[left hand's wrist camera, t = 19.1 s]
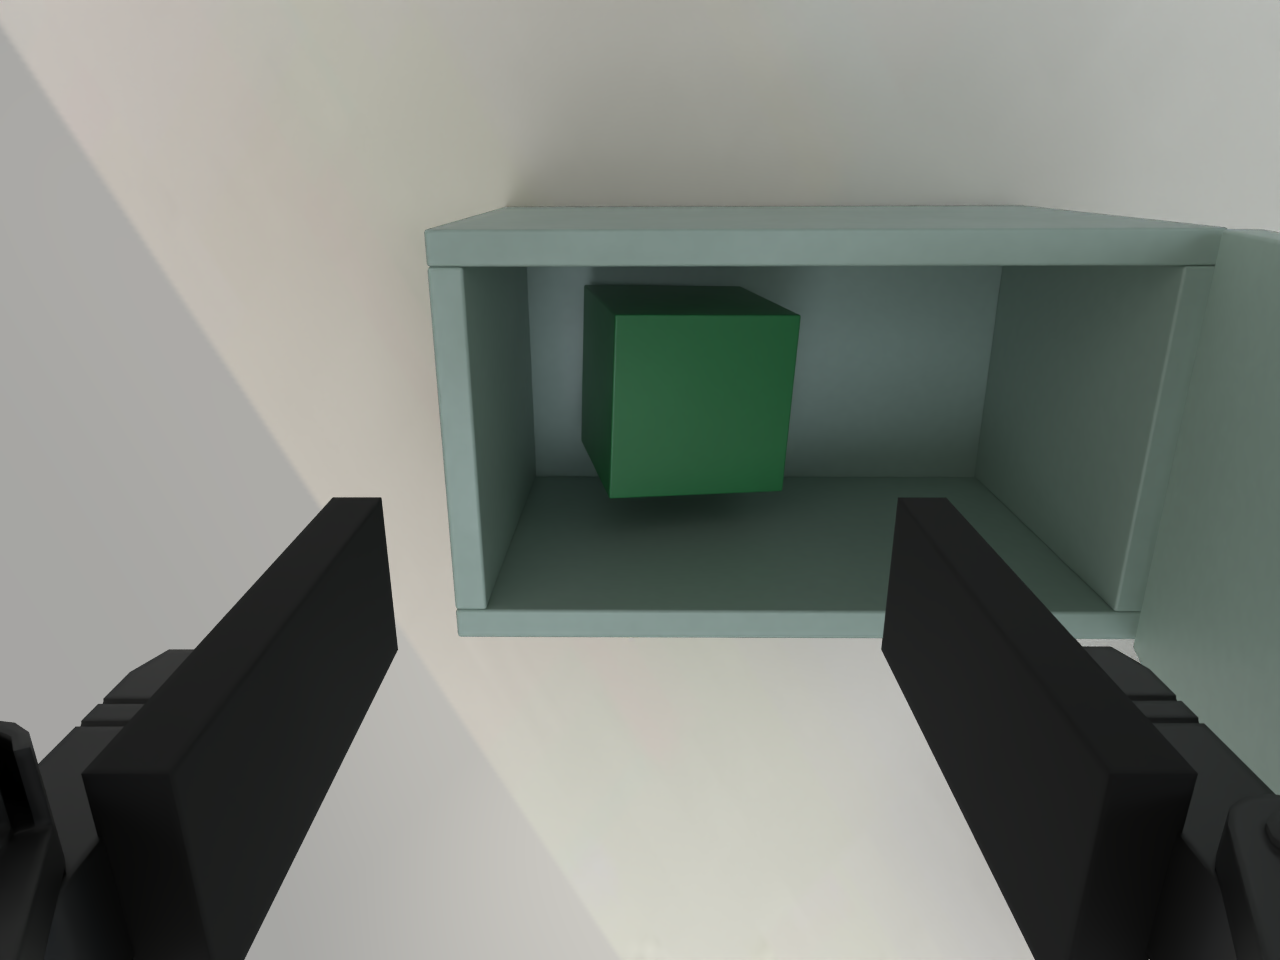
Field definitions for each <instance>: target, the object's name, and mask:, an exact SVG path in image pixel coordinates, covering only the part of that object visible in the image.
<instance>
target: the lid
mask: <svg viewBox="0 0 1280 960" xmlns="http://www.w3.org/2000/svg"><path fill="white" fill-rule="evenodd" d="M1133 647H1134V650H1135V652H1136V654H1137V656H1138V658H1139V660H1140V662H1141V664H1142V665H1144V666H1145V667H1147V668H1149V669H1150V670H1151V671H1152V672H1153V673H1154V674H1155V675H1156V676H1157V677H1158V678H1159V679H1160V680H1161V681H1162V682H1163V683H1164V684H1165V685H1166V686H1167V687H1168V688H1169V689H1170V690H1171V691H1172V692H1173V693H1174V694H1175V695H1176V699H1177V701H1182V702H1183V703H1184V704H1185V705H1186V706H1187V707H1188V708H1189V709H1190V710H1191V711H1192V712H1193V713H1194V714H1195V715H1196V716H1197V717H1198V720H1199V723H1204V724H1205V725H1206V726H1208V727H1209V728H1210V729H1211V730H1212V731H1213V732H1214V733H1215V734H1216V735H1217V736H1218V737H1219V738H1220V739H1221V740H1222V741H1223V742H1224V743H1225V744H1226V745H1227V746H1228V747H1229V748H1230V749H1231V750H1232V751H1233V752H1234V753H1235V754H1236V755H1237V756H1238V757H1239V758H1240V759H1241V760H1242V761H1243V762H1244V763H1245V764H1246V765H1247V766H1248V767H1249V768H1250V769H1251V770H1252V771H1253V772H1254V773H1255V774H1256V775H1257V776H1258V777H1259V778H1260V779H1261V780H1262V781H1263V782H1264V783H1265V784H1266V785H1267V786H1268V787H1269V788H1270V789H1271V790H1272V791H1273V792H1274V793H1275V794H1276V795H1280V233H1279V232H1274V231H1268V230H1256V229H1226V230H1224V231H1223V233H1222V236H1221V241H1220V245H1219V250H1218V255H1217V259H1216V264H1215V269H1214V273H1213V278H1212V283H1211V287H1210V292H1209V296H1208V301H1207V306H1206V310H1205V315H1204V320H1203V324H1202V329H1201V334H1200V338H1199V343H1198V348H1197V352H1196V357H1195V362H1194V366H1193V371H1192V376H1191V380H1190V385H1189V390H1188V394H1187V399H1186V404H1185V408H1184V413H1183V418H1182V422H1181V427H1180V432H1179V436H1178V441H1177V446H1176V450H1175V455H1174V460H1173V464H1172V469H1171V474H1170V478H1169V483H1168V487H1167V492H1166V497H1165V501H1164V506H1163V511H1162V515H1161V520H1160V525H1159V529H1158V534H1157V539H1156V543H1155V548H1154V553H1153V557H1152V562H1151V567H1150V571H1149V576H1148V581H1147V585H1146V590H1145V595H1144V599H1143V604H1142V609H1141V613H1140V618H1139V623H1138V627H1137V632H1136V637H1135V641H1134V646H1133Z"/></svg>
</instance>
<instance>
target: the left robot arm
mask: <svg viewBox="0 0 1280 960" xmlns="http://www.w3.org/2000/svg"><path fill="white" fill-rule="evenodd" d="M397 650H398V646H397V637H396V628H395V618H394V609H393V600H392V591H391V582H390V572H389V563H388V554H387V545H386V536H385V527H384V517H383V508H382V499H381V498H332V499H331V500H330V501H329V502H328V503H327V505H326V506H325V507H324V508H323V509H322V510H321V511H320V512H319V513H318V514H317V516H316V517H315V518H314V519H313V520H312V521H311V522H310V523H309V524H308V525H307V527H306V528H305V529H304V530H303V531H302V532H301V533H300V534H299V535H298V536H297V537H296V539H295V540H294V541H293V542H292V543H291V544H290V545H289V546H288V547H287V548H286V550H285V551H284V552H283V553H282V554H281V555H280V556H279V557H278V558H277V559H276V560H275V562H274V563H273V564H272V565H271V566H270V567H269V568H268V569H267V570H266V571H265V573H264V574H263V575H262V576H261V577H260V578H259V579H258V580H257V581H256V582H255V584H254V585H253V586H252V587H251V588H250V589H249V590H248V591H247V592H246V593H245V594H244V596H243V597H242V598H241V599H240V600H239V601H238V602H237V603H236V604H235V605H234V607H233V608H232V609H231V610H230V611H229V612H228V613H227V614H226V615H225V616H224V617H223V619H222V620H221V621H220V622H219V623H218V624H217V625H216V626H215V627H214V628H213V630H212V631H211V632H210V633H209V634H208V635H207V636H206V637H205V638H204V639H203V640H202V642H201V643H200V644H199V645H198V646H197V647H196V648H195V649H194V650H167V651H166V652H164V653H162V654H160V655H159V656H157V657H155V658H154V659H152V660H150V661H148V662H147V663H145V664H143V665H141V666H140V667H138V668H136V669H135V670H133V671H131V672H130V673H129V674H128V675H127V676H126V677H125V678H124V679H123V680H122V681H121V682H120V683H119V684H118V685H117V686H116V687H115V688H114V689H113V690H112V691H111V692H110V693H109V694H108V695H107V696H106V697H105V698H104V702H103V704H98V705H97V706H96V707H95V708H94V709H93V710H92V711H91V712H90V713H89V714H88V715H87V716H86V717H85V718H84V719H83V720H82V721H81V726H80V727H75V728H74V729H73V730H72V731H71V732H70V733H69V734H68V735H67V736H66V737H65V738H64V739H63V740H62V741H61V742H60V743H59V744H58V745H57V746H56V747H55V748H54V749H53V750H52V751H51V752H50V753H49V754H48V755H47V756H46V757H45V758H44V759H43V760H42V761H41V762H40V763H39V764H38V762H37V759H36V755H35V752H34V748H33V745H32V741H31V738H30V734H29V732H28V731H26V730H25V729H23V728H22V727H20V726H19V725H17V724H16V723H12V722H4V721H0V960H244V959H245V957H246V955H247V953H248V951H249V949H250V947H251V945H252V943H253V941H254V939H255V937H256V935H257V933H258V931H259V929H260V927H261V925H262V923H263V921H264V919H265V917H266V915H267V913H268V911H269V909H270V907H271V905H272V902H273V901H274V898H275V896H276V894H277V892H278V890H279V888H280V886H281V884H282V882H283V880H284V878H285V876H286V874H287V872H288V870H289V868H290V866H291V864H292V862H293V860H294V858H295V856H296V854H297V852H298V850H299V848H300V846H301V844H302V842H303V840H304V838H305V836H306V834H307V832H308V830H309V828H310V826H311V824H312V822H313V820H314V818H315V816H316V814H317V812H318V810H319V808H320V806H321V804H322V802H323V800H324V798H325V796H326V793H327V792H328V789H329V788H330V786H331V784H332V781H333V779H334V777H335V775H336V773H337V771H338V769H339V767H340V765H341V763H342V761H343V759H344V757H345V755H346V753H347V751H348V749H349V747H350V745H351V743H352V741H353V739H354V737H355V735H356V733H357V731H358V729H359V727H360V725H361V723H362V721H363V719H364V717H365V715H366V713H367V711H368V709H369V707H370V705H371V703H372V701H373V699H374V697H375V695H376V693H377V691H378V689H379V687H380V685H381V683H382V681H383V679H384V676H385V675H386V673H387V670H388V668H389V666H390V664H391V662H392V660H393V658H394V656H395V654H396V652H397ZM881 650H882V652H883V654H884V656H885V658H886V660H887V662H888V664H889V666H890V668H891V670H892V672H893V674H894V676H895V678H896V680H897V682H898V684H899V686H900V688H901V690H902V692H903V694H904V696H905V698H906V700H907V702H908V704H909V706H910V708H911V710H912V712H913V714H914V716H915V718H916V720H917V722H918V724H919V726H920V729H921V731H922V733H923V735H924V737H925V739H926V741H927V743H928V745H929V747H930V749H931V751H932V753H933V755H934V757H935V759H936V761H937V763H938V765H939V767H940V769H941V771H942V773H943V775H944V777H945V779H946V781H947V783H948V785H949V787H950V789H951V791H952V793H953V795H954V797H955V799H956V801H957V803H958V805H959V807H960V809H961V811H962V813H963V815H964V817H965V819H966V821H967V823H968V825H969V827H970V829H971V831H972V833H973V835H974V838H975V840H976V842H977V844H978V846H979V848H980V850H981V852H982V854H983V856H984V858H985V860H986V862H987V864H988V866H989V868H990V870H991V872H992V874H993V876H994V878H995V880H996V882H997V884H998V886H999V888H1000V890H1001V892H1002V894H1003V896H1004V898H1005V900H1006V902H1007V904H1008V906H1009V908H1010V910H1011V912H1012V914H1013V916H1014V918H1015V920H1016V922H1017V924H1018V926H1019V928H1020V930H1021V932H1022V934H1023V936H1024V938H1025V940H1026V942H1027V944H1028V947H1029V949H1030V951H1031V953H1032V955H1033V957H1034V959H1035V960H1149V959H1150V960H1280V795H1276V794H1275V793H1274V792H1273V791H1272V790H1271V789H1270V788H1269V787H1268V786H1267V785H1266V784H1265V783H1264V782H1263V781H1262V780H1261V779H1260V778H1259V777H1258V776H1257V775H1256V774H1255V773H1254V772H1253V771H1252V770H1251V769H1250V768H1249V767H1248V766H1247V765H1246V764H1245V763H1244V762H1243V761H1242V760H1241V759H1240V758H1239V757H1238V756H1237V755H1236V754H1235V753H1234V752H1233V751H1232V750H1231V749H1230V748H1229V747H1228V746H1227V745H1226V744H1225V743H1224V742H1223V741H1222V740H1221V739H1220V738H1219V737H1218V736H1217V735H1216V734H1215V733H1214V732H1213V731H1212V730H1211V729H1210V728H1209V727H1208V726H1206V725H1205V724H1204V723H1199V720H1198V717H1197V716H1196V715H1195V714H1194V713H1193V712H1192V711H1191V710H1190V709H1189V708H1188V707H1187V706H1186V705H1185V704H1184V703H1183V702H1182V701H1177V699H1176V695H1175V694H1174V693H1173V692H1172V691H1171V690H1170V689H1169V688H1168V687H1167V686H1166V685H1165V684H1164V683H1163V682H1162V681H1161V680H1160V679H1159V678H1158V677H1157V676H1156V675H1155V674H1154V673H1153V672H1152V671H1151V670H1150V669H1149V668H1147V667H1145V666H1144V665H1142V664H1140V663H1138V662H1137V661H1135V660H1133V659H1131V658H1130V657H1128V656H1126V655H1124V654H1123V653H1121V652H1119V651H1118V650H1116V649H1114V648H1112V647H1082V646H1081V645H1080V644H1079V642H1078V641H1077V640H1076V639H1075V638H1074V637H1073V636H1072V635H1071V634H1070V633H1069V632H1068V630H1067V629H1066V628H1065V627H1064V626H1063V625H1062V624H1061V623H1060V622H1059V621H1058V619H1057V618H1056V617H1055V616H1054V615H1053V614H1052V613H1051V612H1050V611H1049V610H1048V609H1047V607H1046V606H1045V605H1044V604H1043V603H1042V602H1041V601H1040V600H1039V599H1038V598H1037V596H1036V595H1035V594H1034V593H1033V592H1032V591H1031V590H1030V589H1029V588H1028V587H1027V585H1026V584H1025V583H1024V582H1023V581H1022V580H1021V579H1020V578H1019V577H1018V576H1017V575H1016V573H1015V572H1014V571H1013V570H1012V569H1011V568H1010V567H1009V566H1008V565H1007V564H1006V562H1005V561H1004V560H1003V559H1002V558H1001V557H1000V556H999V555H998V554H997V553H996V551H995V550H994V549H993V548H992V547H991V546H990V545H989V544H988V543H987V542H986V541H985V539H984V538H983V537H982V536H981V535H980V534H979V533H978V532H977V531H976V530H975V528H974V527H973V526H972V525H971V524H970V523H969V522H968V521H967V520H966V519H965V518H964V516H963V515H962V514H961V513H960V512H959V511H958V510H957V509H956V508H955V507H954V505H953V504H952V503H951V502H950V501H949V500H948V499H947V498H946V497H898V501H897V510H896V519H895V528H894V538H893V547H892V556H891V565H890V575H889V584H888V593H887V602H886V611H885V621H884V630H883V639H882V648H881Z"/></svg>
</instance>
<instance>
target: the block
mask: <svg viewBox="0 0 1280 960" xmlns="http://www.w3.org/2000/svg"><path fill="white" fill-rule="evenodd" d="M800 319H801V316H800V315H799V314H797V313H795V312H793V311H790V310H788V309H786V308H784V307H782V306H780V305H778V304H776V303H774V302H772V301H770V300H767V299H765V298H763V297H761V296H759V295H757V294H755V293H753V292H751V291H749V290H747V289H744V288H742V287H740V286H663V285H585V286H584V319H583V372H582V425H581V441H582V443H583V445H584V447H585V449H586V451H587V453H588V455H589V457H590V459H591V461H592V463H593V466H594V468H595V470H596V472H597V474H598V476H599V478H600V480H601V482H602V484H603V486H604V488H605V490H606V492H607V494H608V496H609V498H633V497H657V496H680V495H703V494H726V493H749V492H773V491H782V488H783V479H784V469H785V460H786V450H787V441H788V432H789V422H790V413H791V404H792V394H793V385H794V375H795V366H796V357H797V347H798V338H799V329H800Z"/></svg>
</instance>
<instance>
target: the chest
mask: <svg viewBox="0 0 1280 960" xmlns="http://www.w3.org/2000/svg"><path fill="white" fill-rule="evenodd" d="M1226 229H1227V228H1225V227H1216V226H1207V225H1198V224H1189V223H1179V222H1170V221H1161V220H1152V219H1142V218H1133V217H1124V216H1115V215H1105V214H1096V213H1087V212H1078V211H1068V210H1059V209H1050V208H1041V207H1032V206H691V207H504V208H500V209H497V210H493V211H490V212H486V213H483V214H479V215H476V216H472V217H469V218H465V219H462V220H458V221H455V222H451V223H448V224H444V225H441V226H437V227H434V228H430V229H427V230H425V232H424V234H425V246H426V258H427V265H428V266H430V267H429V268H428V280H429V292H430V304H431V316H432V328H433V340H434V352H435V364H436V376H437V388H438V400H439V412H440V424H441V436H442V448H443V460H444V472H445V484H446V496H447V508H448V519H449V531H450V543H451V555H452V567H453V579H454V591H455V603H456V607H457V608H458V609H457V611H456V615H457V627H458V634H459V636H461V637H720V638H883V630H884V621H885V611H886V602H887V593H888V584H889V575H890V565H891V556H892V547H893V538H894V528H895V519H896V510H897V501H898V497H946V498H947V499H948V500H949V501H950V502H951V503H952V504H953V505H954V507H955V508H956V509H957V510H958V511H959V512H960V513H961V514H962V515H963V516H964V518H965V519H966V520H967V521H968V522H969V523H970V524H971V525H972V526H973V527H974V528H975V530H976V531H977V532H978V533H979V534H980V535H981V536H982V537H983V538H984V539H985V541H986V542H987V543H988V544H989V545H990V546H991V547H992V548H993V549H994V550H995V551H996V553H997V554H998V555H999V556H1000V557H1001V558H1002V559H1003V560H1004V561H1005V562H1006V564H1007V565H1008V566H1009V567H1010V568H1011V569H1012V570H1013V571H1014V572H1015V573H1016V575H1017V576H1018V577H1019V578H1020V579H1021V580H1022V581H1023V582H1024V583H1025V584H1026V585H1027V587H1028V588H1029V589H1030V590H1031V591H1032V592H1033V593H1034V594H1035V595H1036V596H1037V598H1038V599H1039V600H1040V601H1041V602H1042V603H1043V604H1044V605H1045V606H1046V607H1047V609H1048V610H1049V611H1050V612H1051V613H1052V614H1053V615H1054V616H1055V617H1056V618H1057V619H1058V621H1059V622H1060V623H1061V624H1062V625H1063V626H1064V627H1065V628H1066V629H1067V630H1068V632H1069V633H1070V634H1071V635H1072V636H1073V637H1074V638H1075V639H1135V637H1136V632H1137V627H1138V623H1139V618H1140V613H1141V609H1142V604H1143V599H1144V595H1145V590H1146V585H1147V581H1148V576H1149V571H1150V567H1151V562H1152V557H1153V553H1154V548H1155V543H1156V539H1157V534H1158V529H1159V525H1160V520H1161V515H1162V511H1163V506H1164V501H1165V497H1166V492H1167V487H1168V483H1169V478H1170V474H1171V469H1172V464H1173V460H1174V455H1175V450H1176V446H1177V441H1178V436H1179V432H1180V427H1181V422H1182V418H1183V413H1184V408H1185V404H1186V399H1187V394H1188V390H1189V385H1190V380H1191V376H1192V371H1193V366H1194V362H1195V357H1196V352H1197V348H1198V343H1199V338H1200V334H1201V329H1202V324H1203V320H1204V315H1205V310H1206V306H1207V301H1208V296H1209V292H1210V287H1211V283H1212V278H1213V273H1214V269H1215V264H1216V259H1217V255H1218V250H1219V245H1220V241H1221V236H1222V233H1223V231H1224V230H1226ZM585 285H663V286H740V287H742V288H744V289H747V290H749V291H751V292H753V293H755V294H757V295H759V296H761V297H763V298H765V299H767V300H770V301H772V302H774V303H776V304H778V305H780V306H782V307H784V308H786V309H788V310H790V311H793V312H795V313H797V314H799V315H800V316H801V319H800V329H799V338H798V347H797V357H796V366H795V375H794V385H793V394H792V404H791V413H790V422H789V432H788V441H787V450H786V460H785V469H784V479H783V488H782V491H773V492H749V493H726V494H703V495H680V496H657V497H633V498H609V496H608V494H607V492H606V490H605V488H604V486H603V484H602V482H601V480H600V478H599V476H598V474H597V472H596V470H595V468H594V466H593V463H592V461H591V459H590V457H589V455H588V453H587V451H586V449H585V447H584V445H583V443H582V441H581V425H582V372H583V319H584V286H585Z"/></svg>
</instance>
